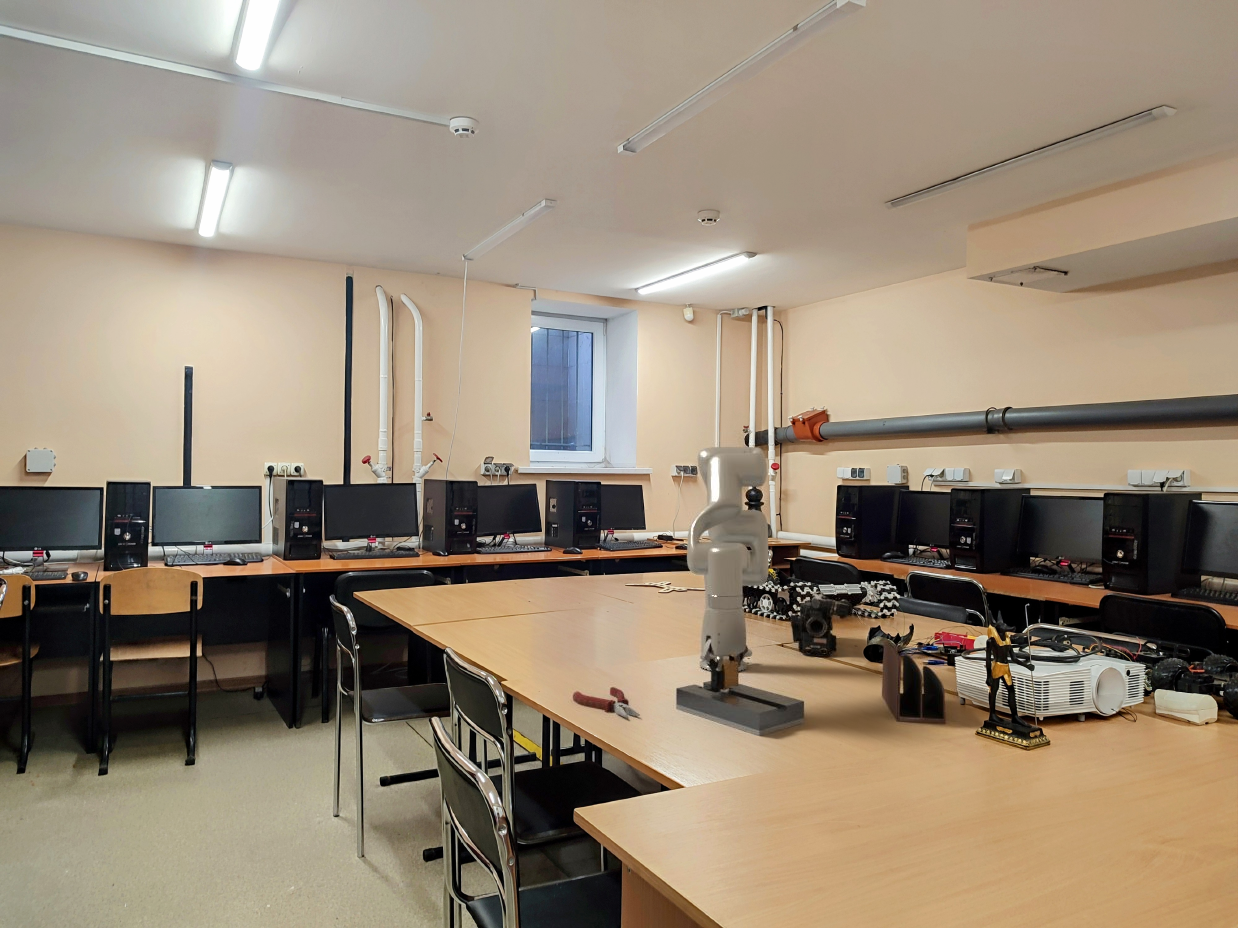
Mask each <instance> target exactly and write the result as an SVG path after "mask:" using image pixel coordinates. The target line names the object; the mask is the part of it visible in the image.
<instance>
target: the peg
mask: <svg viewBox="0 0 1238 928" xmlns="http://www.w3.org/2000/svg"><path fill="white" fill-rule="evenodd" d="M716 663H717V660H716ZM721 670H722V671H723V689H721V692H723V693H726V694H729V687H731V686H736V685H738V684H739V671H738V662H736V661H731V660H727V659H723V661H722V669H721Z"/></svg>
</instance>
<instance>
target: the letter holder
mask: <svg viewBox="0 0 1238 928" xmlns="http://www.w3.org/2000/svg"><path fill="white" fill-rule="evenodd" d="M881 678H882V681H881V684H882V685H881V696H882V698H883V700H884V702H885V704H886V705H887V707H888V709H889V710H890V712H891V714H892V715H893V717H894V719H895V721H896V722H899V723H902V722H903V723H919V724H921V723H922V724H937V725H938V724H940V725H946V722H947V721H946V697H945V687H944V684H943V683H942V680H941V679H940V678H939V676H938V675H937V673H935V672H934V670H933V669H931V668H930V667H929V666H928V665H923V666H922V671H921V669H920V668H919V666H918V664H917V663H916V661H915V660H914V659H913V657H911V656H910V655H907V654H904V655H903V656H902V660H901V656H900V654H899V653H898V651H897V649H896V648H895V646H894V644H892V643H890V642H888V641H884V642H883V656H882V677H881ZM901 679H902V683H901ZM901 684H902V692H901Z"/></svg>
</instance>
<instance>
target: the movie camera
mask: <svg viewBox="0 0 1238 928" xmlns="http://www.w3.org/2000/svg"><path fill="white" fill-rule="evenodd" d="M799 609H800V612H799V614H800V615H799V616H798V615H796V614H790V627H791V631H792V632H791V633H792V640H793V643H798V647H797V649H798V651H799V652H801V653H802V654H803V655H808V656H810V657H827V658H828V657H830V656H831V653H833V652H836V651H837V645H838V642H837V635H834V634H833V633H832V631H833V629H834V625H833V621H832V619H833V617H832V615H835V616H837V617H839V619H842V620H844V619H846V618H847V617H848V616H849V615H851V613H852V612H853V605H852V603H851V602H850V600H847V599H841V600H838V601H837V600H834V599H830V598H829V596H826V595H824V592H822V591H815V592H814V593H812V595H811V599H807V601H806V602H802V603H800V607H799ZM807 648H809V649H810V650H811V651H810V652H809V651H807ZM822 650H826V651H825V653H824V652H822Z"/></svg>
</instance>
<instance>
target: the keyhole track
mask: <svg viewBox="0 0 1238 928" xmlns="http://www.w3.org/2000/svg"><path fill="white" fill-rule="evenodd" d="M702 685H703V686H701V685H698V684H691V685H690V684H689V685H686V686H685V685H684V686H681V687H677V688H676V690H675V691H676V692H675V693H676V694H675V697H676V699H675V701H676V702H675V703H676V704H675V707H676V710H679V711H681V710H682V712H685V713H689V714H692V715H694V716H698V717H700V718H703V719H707V720H709V721H712V722H716V723H719V724H722V725H724V726H727V727H731V728H734V729H737V730H740V731H743V732H747V733H749V734H751V735H752V734H753V735H756V736H759V737H760V736H763V735H764V736H765V735H767V734H771V733H774V732H777V731H780V730H781V731H782V730H785V729H788V728H792V727H794V726H798V725H801V724H804V723H805V700H803V699H802V700H801V699H797V698H793V697H789V696H787V695H783V694H779V693H775V692H771V691H768V690H764V689H761V688H756V687H752V686H748V685H745V684H741V683H738V686H731V687H729V694H726V693H723V692H721V690H720V689H717V688H713V687H711V680H709V681H705V682H703V683H702Z"/></svg>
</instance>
